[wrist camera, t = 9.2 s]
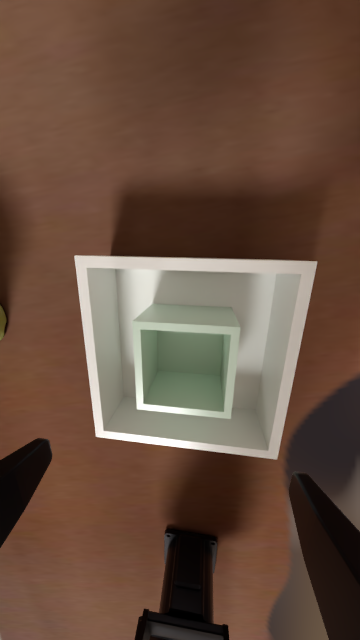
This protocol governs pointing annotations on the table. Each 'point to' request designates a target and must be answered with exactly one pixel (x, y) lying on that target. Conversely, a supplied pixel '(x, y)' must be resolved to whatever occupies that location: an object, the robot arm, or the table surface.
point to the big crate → (198, 290)
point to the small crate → (186, 359)
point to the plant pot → (2, 322)
